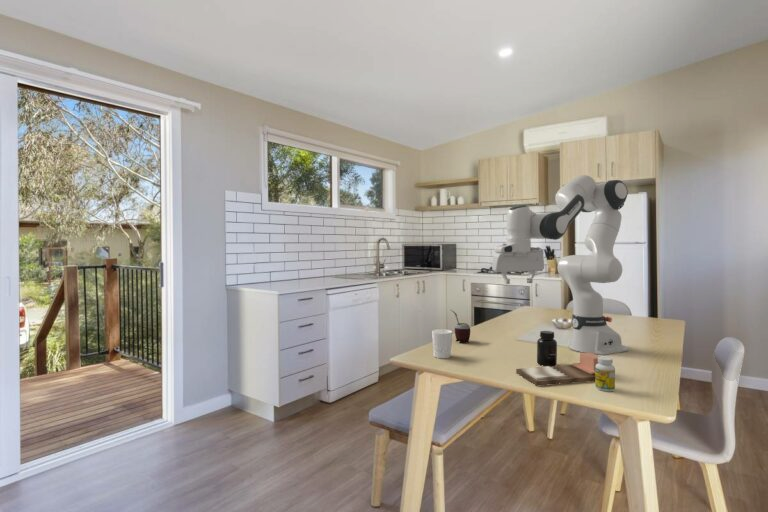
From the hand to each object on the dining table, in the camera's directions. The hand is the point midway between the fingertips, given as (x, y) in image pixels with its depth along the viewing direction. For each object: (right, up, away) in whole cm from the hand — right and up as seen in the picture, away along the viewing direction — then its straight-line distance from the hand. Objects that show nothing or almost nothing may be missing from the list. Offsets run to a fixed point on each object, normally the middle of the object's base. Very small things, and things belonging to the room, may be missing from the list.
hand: (518, 283), depth 164 cm
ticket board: (+9, -30, -21) cm, 38 cm away
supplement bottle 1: (+8, -30, -7) cm, 32 cm away
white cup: (-29, -30, +5) cm, 42 cm away
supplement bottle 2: (+16, -31, -33) cm, 48 cm away
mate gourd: (-17, -28, +27) cm, 43 cm away
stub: (+19, -28, -19) cm, 39 cm away
